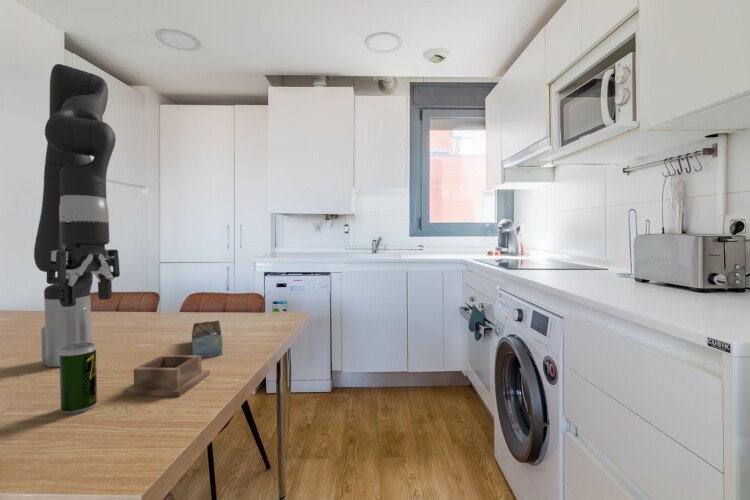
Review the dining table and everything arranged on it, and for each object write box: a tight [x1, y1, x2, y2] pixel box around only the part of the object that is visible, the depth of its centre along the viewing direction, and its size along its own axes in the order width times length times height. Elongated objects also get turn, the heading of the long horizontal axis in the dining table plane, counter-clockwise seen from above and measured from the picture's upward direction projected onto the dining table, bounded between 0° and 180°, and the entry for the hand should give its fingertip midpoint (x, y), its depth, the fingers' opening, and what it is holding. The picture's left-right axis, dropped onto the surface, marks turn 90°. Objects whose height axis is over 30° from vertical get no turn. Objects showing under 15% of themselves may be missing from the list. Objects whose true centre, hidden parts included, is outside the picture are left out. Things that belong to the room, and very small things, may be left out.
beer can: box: [59, 342, 98, 416], centre depth 68 cm, size 5×5×12 cm
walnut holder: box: [122, 354, 211, 398], centre depth 79 cm, size 12×12×5 cm
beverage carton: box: [191, 320, 223, 358], centre depth 107 cm, size 8×19×7 cm, turn 26°
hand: (87, 302), depth 70 cm, fingers open, 8 cm apart
